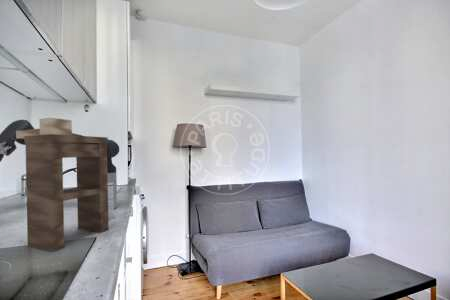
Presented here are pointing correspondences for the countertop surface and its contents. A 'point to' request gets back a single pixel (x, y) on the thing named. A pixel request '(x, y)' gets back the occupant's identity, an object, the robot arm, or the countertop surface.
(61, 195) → the shelf
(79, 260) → the countertop surface
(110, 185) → the syrup box
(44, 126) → the mallet
